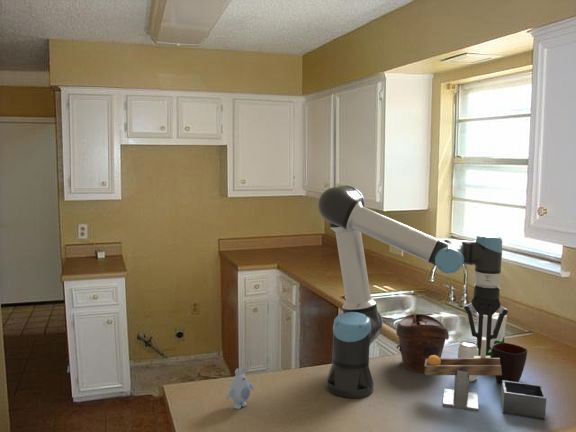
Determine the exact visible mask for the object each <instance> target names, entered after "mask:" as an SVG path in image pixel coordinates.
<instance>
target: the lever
mask: <svg viewBox="0 0 576 432" xmlns="http://www.w3.org/2000/svg"><path fill="white" fill-rule="evenodd" d="M427 360H428V359H425V365H424V369H425V372H424V375H425V376H455V375H457V369H458V370H466V371H468V375H477V376H495V375H502V370H501V365H500V358H490V356H486V358H480V356H474V358H458V357H456V358H455V357H454V358H453V357H450V358H449V357H448V358H447V357H446V358H445V357H444V358H442V357H441V358H440V360H441V364H440V365H428V362H427Z"/></svg>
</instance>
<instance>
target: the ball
mask: <svg viewBox="0 0 576 432" xmlns="http://www.w3.org/2000/svg"><path fill="white" fill-rule="evenodd" d="M427 362H428V365H440V364H441V360H440V358H439V357H438V356H436V355H431V356H430V357H429V358H428V360H427Z"/></svg>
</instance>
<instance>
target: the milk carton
mask: <svg viewBox="0 0 576 432" xmlns="http://www.w3.org/2000/svg"><path fill="white" fill-rule="evenodd" d="M498 316H499V312H495V313H494V314H493V315H492V324H491V334H492V333H493V331H494V328H495V325H496V322H497V319H498ZM476 319H477V320H476V321H478V320H479V313H478V312H477V314H476ZM507 319H508V315H507V314H506V315H505V316H504V318H503V321H502V324H501V327H500V330H499V333H498V336H497V338H496V339H491V341H490V349H489V350H487V349H486V356H490V358H492V347H493V346H494V345H496V344H499V343H505V340H506V339H505V337H506V324H507ZM486 331H487V315H483V329H482V337H485V338H486ZM476 332H478V330H477V331H476ZM477 340H478V339H477V338H476V341H477ZM480 354H481V349H478V356H480Z"/></svg>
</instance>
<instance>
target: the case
mask: <svg viewBox="0 0 576 432" xmlns="http://www.w3.org/2000/svg"><path fill="white" fill-rule="evenodd" d="M396 336H398V341H399V345H397V346H396V350H398V349H399V352H400V354H401V361H402V365H403V366H404V367H405V368H407V369H408V370H410V371H413V372H417V373H425V369H424V365H425V359H428V358H429V357H430V356H431V355H436V356H438V357H439V358H442V355H443V351H444V347H445V343H446V340H447V341H448V340H449V339H450V335H449V331H448V328H447V327H446V326H445V325H444V324H443V323H442V322H441V321H440V320H438V319H437V318H435V317H433V316H430V315H427V314H424V313H412V314H410V315H407V316H405V317H403V318H402V319H400V321H399V322H398V324H396Z"/></svg>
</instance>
